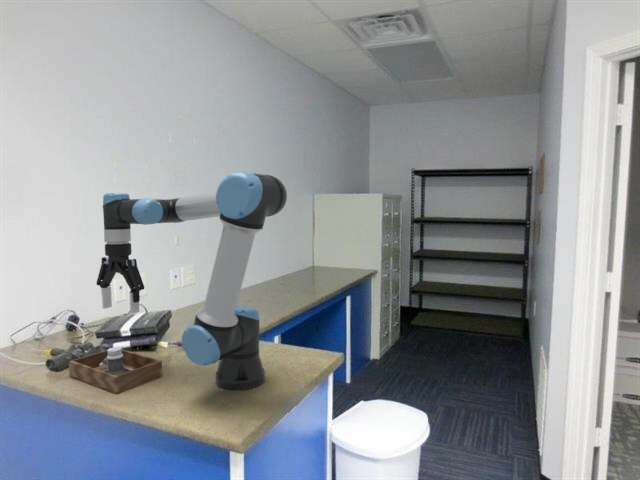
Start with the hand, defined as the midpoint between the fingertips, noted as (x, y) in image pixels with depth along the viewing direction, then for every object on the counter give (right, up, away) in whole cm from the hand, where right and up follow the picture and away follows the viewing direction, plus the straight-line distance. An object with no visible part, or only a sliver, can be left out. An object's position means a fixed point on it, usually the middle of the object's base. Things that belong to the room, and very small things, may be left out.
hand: (120, 310), depth 140 cm
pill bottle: (-2, -21, +1) cm, 21 cm away
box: (-2, -21, +1) cm, 21 cm away
